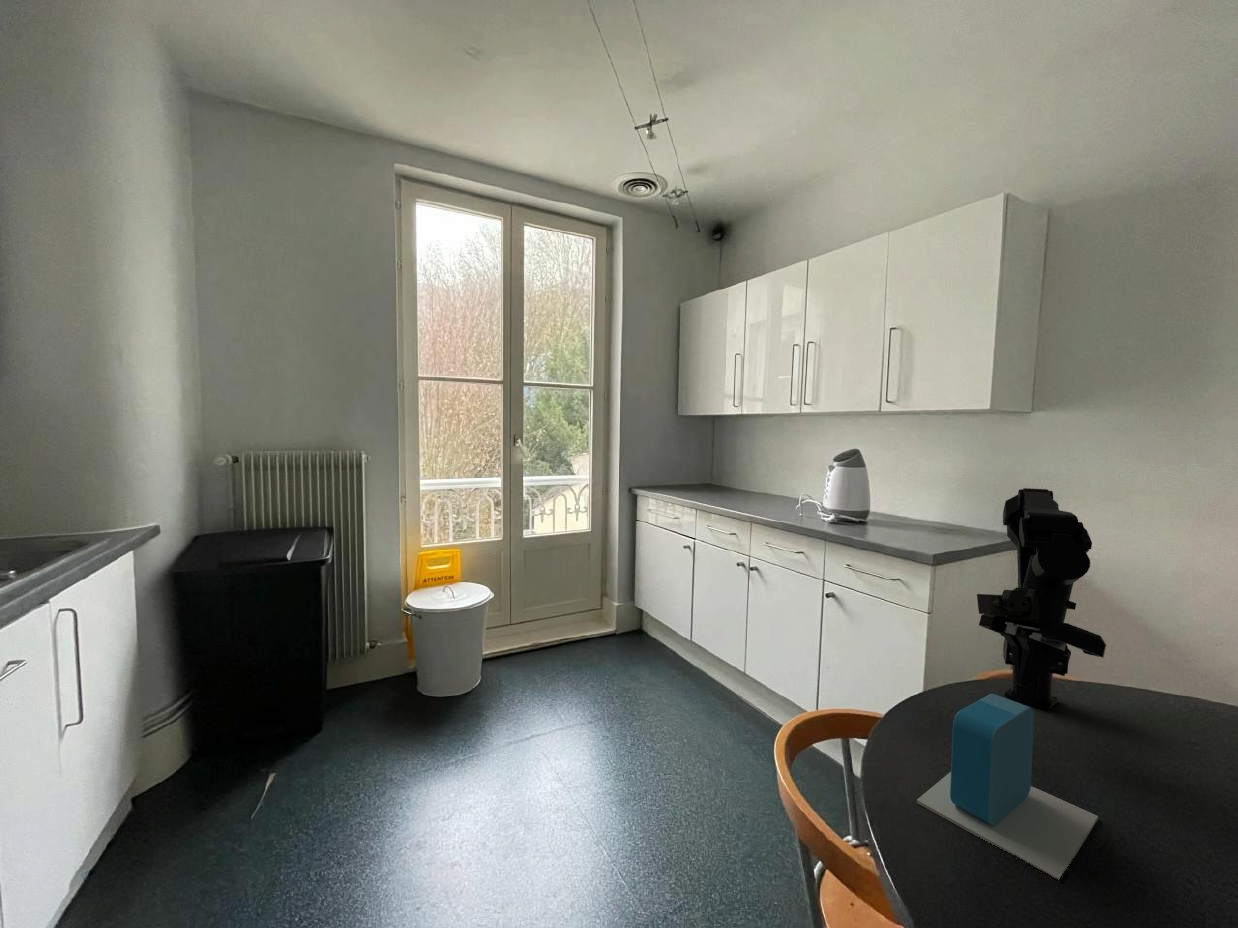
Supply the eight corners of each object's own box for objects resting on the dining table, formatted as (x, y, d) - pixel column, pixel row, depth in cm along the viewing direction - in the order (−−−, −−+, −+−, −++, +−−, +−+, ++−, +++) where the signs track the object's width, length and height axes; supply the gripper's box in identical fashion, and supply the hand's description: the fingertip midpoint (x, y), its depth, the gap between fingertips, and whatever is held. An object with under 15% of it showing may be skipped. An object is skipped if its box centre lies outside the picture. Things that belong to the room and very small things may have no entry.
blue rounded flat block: (991, 775, 68) (994, 690, 68) (1031, 794, 65) (1035, 704, 64) (948, 806, 62) (952, 713, 62) (990, 830, 58) (994, 730, 58)
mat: (967, 759, 72) (967, 757, 72) (1098, 819, 61) (1098, 816, 61) (916, 802, 63) (916, 799, 63) (1058, 881, 52) (1059, 878, 52)
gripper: (960, 569, 89) (936, 653, 86) (1035, 569, 70) (1007, 676, 68) (1025, 593, 87) (1002, 680, 84) (1120, 600, 69) (1094, 711, 66)
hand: (1022, 685), depth 76 cm, fingers closed
